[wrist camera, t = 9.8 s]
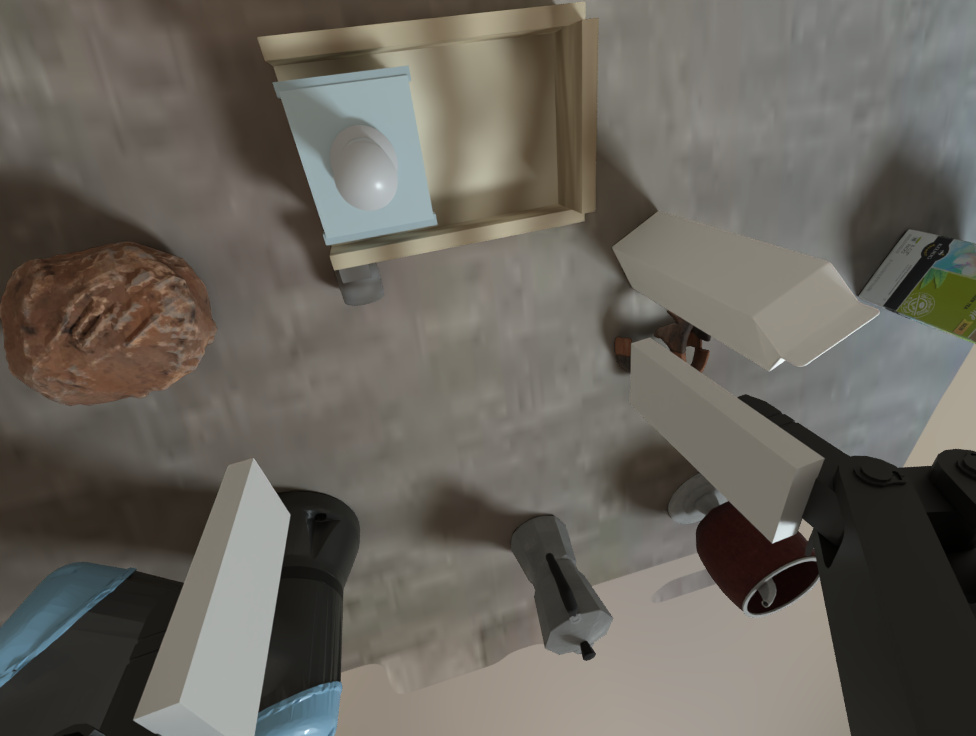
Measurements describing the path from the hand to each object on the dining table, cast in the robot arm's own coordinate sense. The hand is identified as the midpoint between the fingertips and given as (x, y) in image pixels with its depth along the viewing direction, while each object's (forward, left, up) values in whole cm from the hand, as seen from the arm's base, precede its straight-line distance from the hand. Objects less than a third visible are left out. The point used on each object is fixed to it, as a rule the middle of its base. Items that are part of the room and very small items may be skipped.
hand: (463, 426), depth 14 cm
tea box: (+67, -18, -28) cm, 75 cm away
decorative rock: (-22, -1, -28) cm, 36 cm away
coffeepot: (+10, -47, -28) cm, 56 cm away
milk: (+25, -6, -28) cm, 38 cm away
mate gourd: (+39, -51, -28) cm, 70 cm away
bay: (+5, +5, -28) cm, 29 cm away
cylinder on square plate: (-1, +7, -27) cm, 28 cm away
